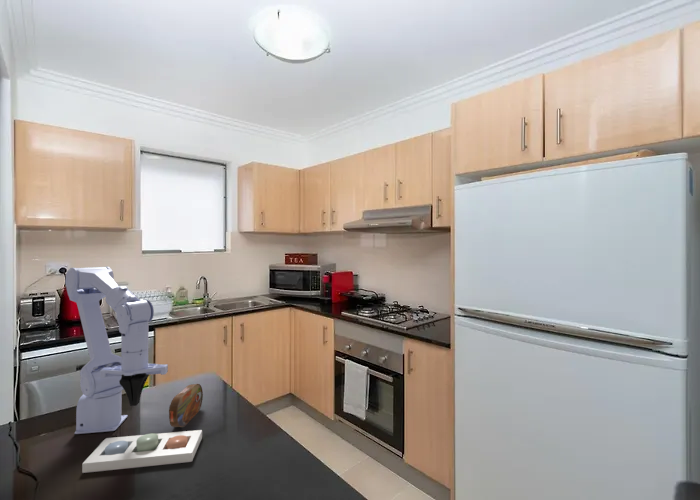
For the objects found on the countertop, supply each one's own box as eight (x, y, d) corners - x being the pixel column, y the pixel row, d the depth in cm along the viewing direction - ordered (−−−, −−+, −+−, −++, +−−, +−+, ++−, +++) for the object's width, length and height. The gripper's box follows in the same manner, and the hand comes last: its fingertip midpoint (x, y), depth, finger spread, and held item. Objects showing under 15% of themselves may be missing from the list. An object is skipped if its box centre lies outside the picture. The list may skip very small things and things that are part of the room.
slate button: (101, 463, 77) (101, 452, 77) (110, 451, 81) (110, 441, 81) (122, 461, 78) (122, 450, 78) (131, 449, 82) (131, 439, 82)
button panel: (82, 472, 74) (82, 463, 74) (105, 446, 84) (105, 438, 84) (192, 461, 78) (192, 452, 78) (202, 437, 88) (202, 429, 88)
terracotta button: (164, 456, 80) (164, 446, 80) (170, 446, 84) (170, 436, 84) (184, 454, 80) (184, 444, 80) (189, 444, 85) (189, 434, 85)
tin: (178, 433, 90) (178, 401, 90) (166, 433, 90) (166, 401, 90) (203, 406, 105) (204, 379, 105) (193, 406, 105) (193, 379, 105)
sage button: (133, 455, 78) (133, 444, 78) (140, 444, 83) (140, 434, 83) (154, 453, 79) (154, 442, 79) (160, 442, 84) (160, 432, 84)
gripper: (93, 356, 80) (93, 414, 80) (161, 352, 83) (160, 409, 83) (108, 347, 87) (108, 400, 87) (170, 344, 90) (170, 396, 90)
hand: (134, 404), depth 86 cm, fingers closed
